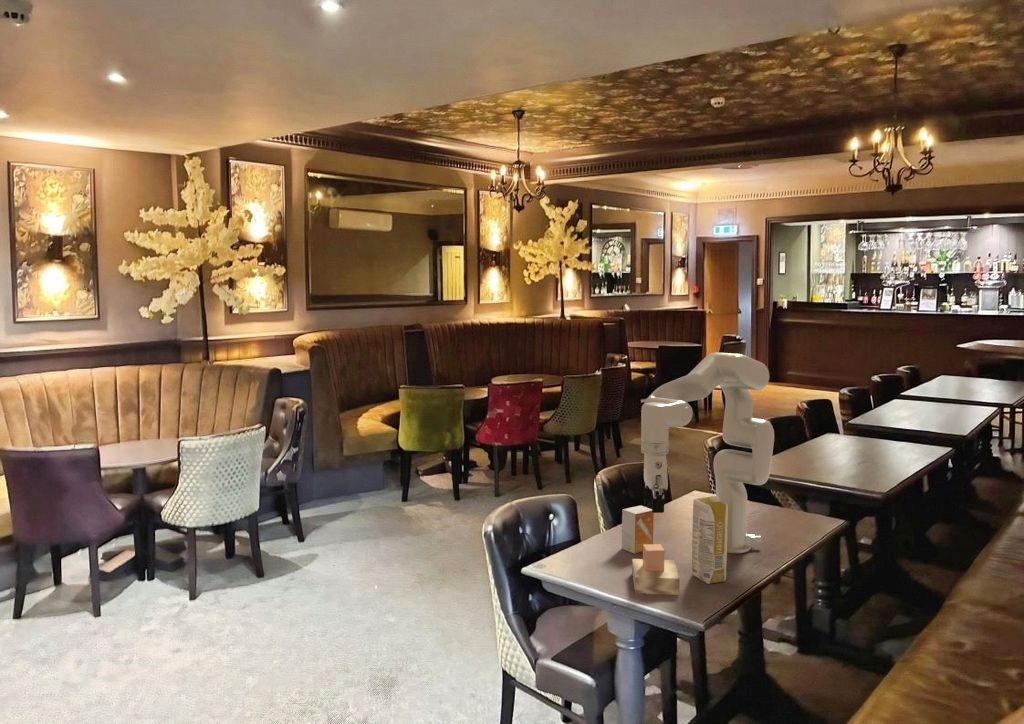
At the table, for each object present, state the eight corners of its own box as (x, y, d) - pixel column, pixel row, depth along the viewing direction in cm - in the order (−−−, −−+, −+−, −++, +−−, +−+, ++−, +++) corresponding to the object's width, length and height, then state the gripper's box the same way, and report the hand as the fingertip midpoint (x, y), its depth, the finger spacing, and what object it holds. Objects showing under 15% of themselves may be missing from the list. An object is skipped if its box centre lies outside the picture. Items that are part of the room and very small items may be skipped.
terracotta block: (660, 564, 217) (660, 544, 216) (664, 571, 212) (664, 550, 211) (642, 564, 217) (643, 544, 216) (646, 571, 212) (646, 550, 211)
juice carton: (730, 582, 215) (732, 499, 213) (706, 586, 213) (708, 502, 210) (710, 570, 224) (712, 491, 222) (687, 574, 221) (689, 494, 219)
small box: (634, 554, 238) (635, 514, 236) (621, 548, 243) (621, 509, 242) (653, 549, 242) (654, 509, 241) (639, 543, 248) (640, 504, 246)
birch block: (673, 576, 221) (673, 559, 221) (679, 596, 207) (679, 578, 207) (632, 575, 222) (632, 558, 222) (634, 594, 208) (635, 577, 208)
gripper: (675, 454, 202) (675, 516, 204) (661, 440, 219) (660, 498, 221) (647, 454, 202) (647, 517, 204) (635, 440, 219) (634, 498, 221)
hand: (654, 507), depth 213 cm, fingers open, 9 cm apart
